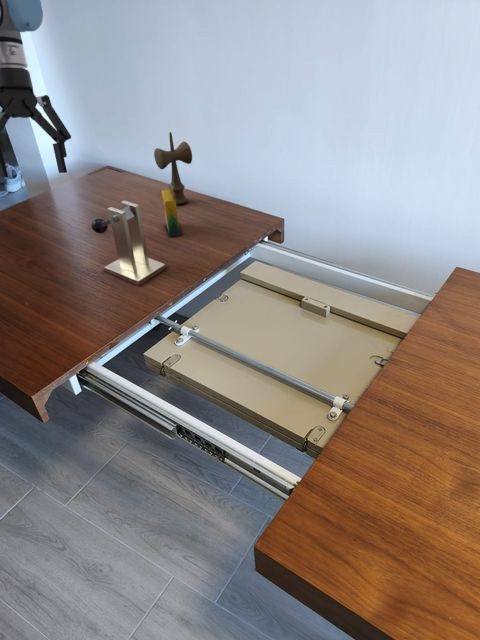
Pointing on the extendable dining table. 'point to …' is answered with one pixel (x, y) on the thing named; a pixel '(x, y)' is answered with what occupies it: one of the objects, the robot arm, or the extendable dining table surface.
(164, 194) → the crayon box
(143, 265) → the switch bracket
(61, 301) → the extendable dining table surface
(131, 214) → the lever
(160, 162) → the kendama
